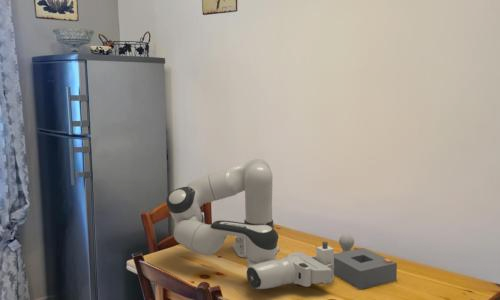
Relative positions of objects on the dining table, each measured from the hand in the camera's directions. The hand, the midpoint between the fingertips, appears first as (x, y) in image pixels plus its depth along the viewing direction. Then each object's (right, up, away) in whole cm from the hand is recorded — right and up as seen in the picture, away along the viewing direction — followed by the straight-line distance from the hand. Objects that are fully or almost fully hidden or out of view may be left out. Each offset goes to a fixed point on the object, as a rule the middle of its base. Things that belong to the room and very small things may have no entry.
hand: (327, 262), depth 165 cm
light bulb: (+11, -4, +22) cm, 25 cm away
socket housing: (+13, -6, +4) cm, 15 cm away
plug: (-1, -7, 0) cm, 7 cm away
